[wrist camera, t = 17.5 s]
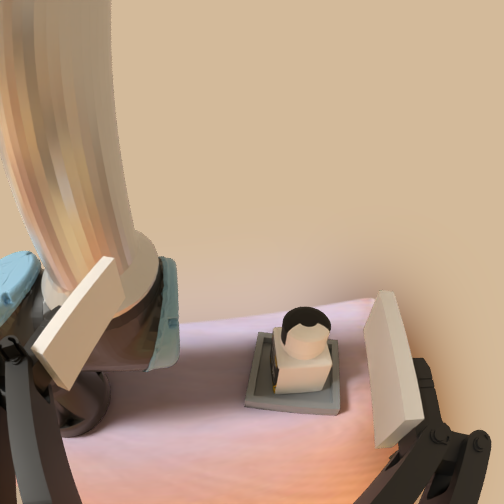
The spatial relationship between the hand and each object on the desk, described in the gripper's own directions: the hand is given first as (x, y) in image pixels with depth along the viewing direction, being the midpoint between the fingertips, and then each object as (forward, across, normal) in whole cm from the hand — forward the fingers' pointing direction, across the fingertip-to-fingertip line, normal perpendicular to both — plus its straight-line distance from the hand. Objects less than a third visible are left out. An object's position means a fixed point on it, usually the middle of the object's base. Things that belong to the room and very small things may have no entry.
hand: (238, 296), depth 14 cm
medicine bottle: (+15, +6, -29) cm, 33 cm away
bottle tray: (+15, +6, -29) cm, 33 cm away
